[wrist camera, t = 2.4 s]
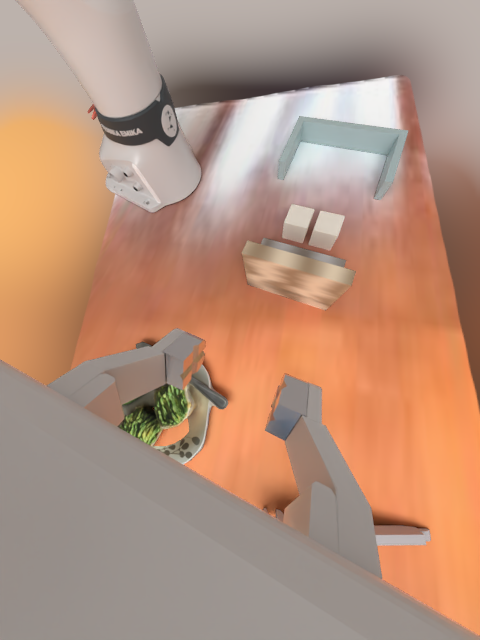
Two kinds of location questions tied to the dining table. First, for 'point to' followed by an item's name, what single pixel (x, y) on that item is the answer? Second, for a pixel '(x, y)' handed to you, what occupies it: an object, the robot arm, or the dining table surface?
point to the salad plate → (174, 414)
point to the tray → (348, 144)
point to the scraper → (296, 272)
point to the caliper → (391, 533)
